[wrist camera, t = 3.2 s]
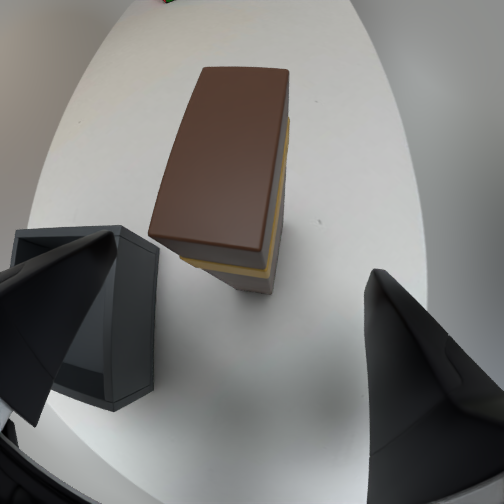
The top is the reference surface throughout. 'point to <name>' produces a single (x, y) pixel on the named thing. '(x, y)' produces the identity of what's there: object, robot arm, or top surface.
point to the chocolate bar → (228, 177)
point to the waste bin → (106, 319)
